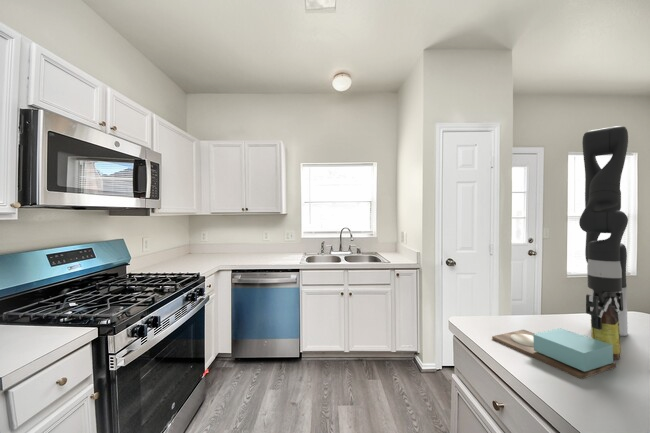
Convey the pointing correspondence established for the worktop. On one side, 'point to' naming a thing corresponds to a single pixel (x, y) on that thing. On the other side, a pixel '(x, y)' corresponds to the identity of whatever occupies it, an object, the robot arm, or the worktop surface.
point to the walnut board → (525, 344)
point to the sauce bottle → (609, 329)
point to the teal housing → (573, 349)
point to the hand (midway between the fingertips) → (605, 326)
